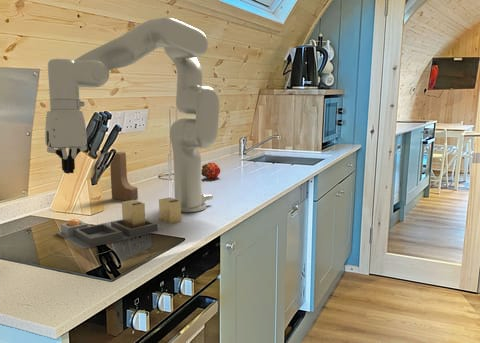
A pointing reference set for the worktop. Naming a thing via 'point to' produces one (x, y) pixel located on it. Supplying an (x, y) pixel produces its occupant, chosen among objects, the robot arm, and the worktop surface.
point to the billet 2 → (170, 210)
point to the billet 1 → (133, 213)
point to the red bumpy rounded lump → (210, 170)
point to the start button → (73, 222)
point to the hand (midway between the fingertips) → (68, 172)
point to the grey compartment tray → (103, 232)
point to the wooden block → (121, 179)
